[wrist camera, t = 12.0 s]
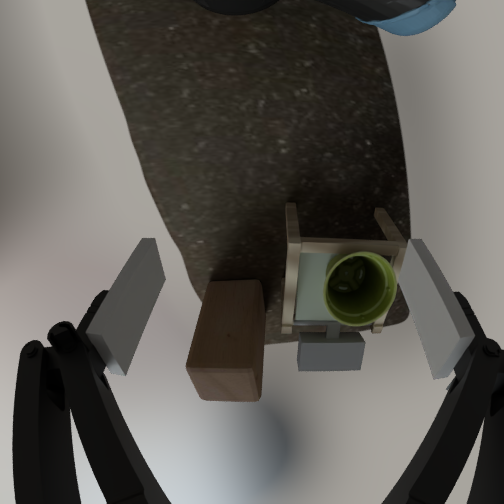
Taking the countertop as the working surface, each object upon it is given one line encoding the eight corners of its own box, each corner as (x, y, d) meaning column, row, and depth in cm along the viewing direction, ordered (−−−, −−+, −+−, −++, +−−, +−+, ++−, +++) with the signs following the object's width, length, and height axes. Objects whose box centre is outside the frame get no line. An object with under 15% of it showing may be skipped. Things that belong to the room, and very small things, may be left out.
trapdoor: (297, 237, 46) (299, 240, 42) (376, 240, 45) (385, 244, 41) (289, 358, 49) (291, 371, 45) (361, 358, 48) (367, 369, 44)
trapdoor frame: (285, 202, 47) (288, 243, 37) (383, 208, 46) (409, 248, 36) (281, 284, 56) (281, 333, 46) (365, 285, 55) (380, 333, 45)
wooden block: (261, 276, 55) (254, 368, 38) (266, 316, 60) (261, 404, 44) (207, 279, 56) (182, 367, 40) (217, 317, 62) (199, 402, 45)
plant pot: (369, 305, 44) (388, 327, 35) (309, 301, 44) (317, 324, 36) (379, 244, 42) (402, 255, 34) (317, 238, 43) (329, 247, 34)
